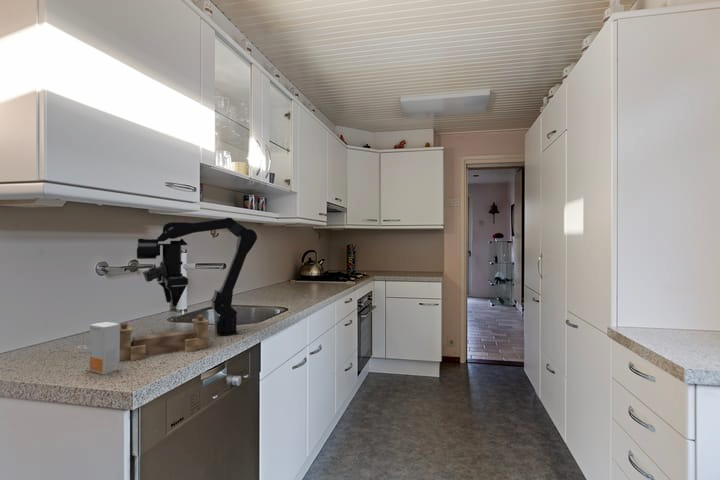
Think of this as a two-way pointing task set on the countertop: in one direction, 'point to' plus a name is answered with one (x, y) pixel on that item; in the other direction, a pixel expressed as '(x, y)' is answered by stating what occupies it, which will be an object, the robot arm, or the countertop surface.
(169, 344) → the rail
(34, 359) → the countertop surface
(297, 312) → the countertop surface
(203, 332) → the wooden stepped supports
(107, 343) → the skincare box
